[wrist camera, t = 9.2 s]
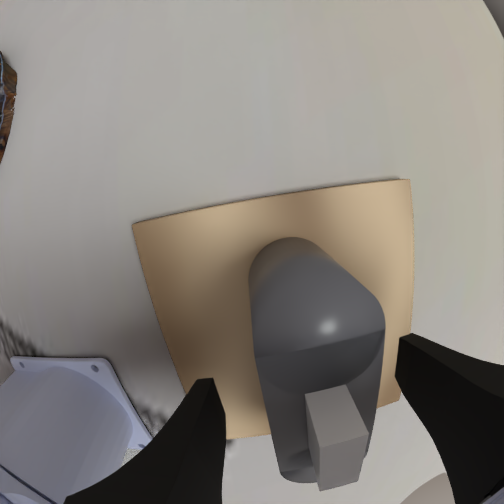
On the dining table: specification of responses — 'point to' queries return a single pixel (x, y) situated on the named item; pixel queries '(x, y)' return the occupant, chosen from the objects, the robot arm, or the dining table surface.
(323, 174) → the dining table surface
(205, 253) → the oak board
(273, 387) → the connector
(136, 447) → the robot arm
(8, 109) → the burger
